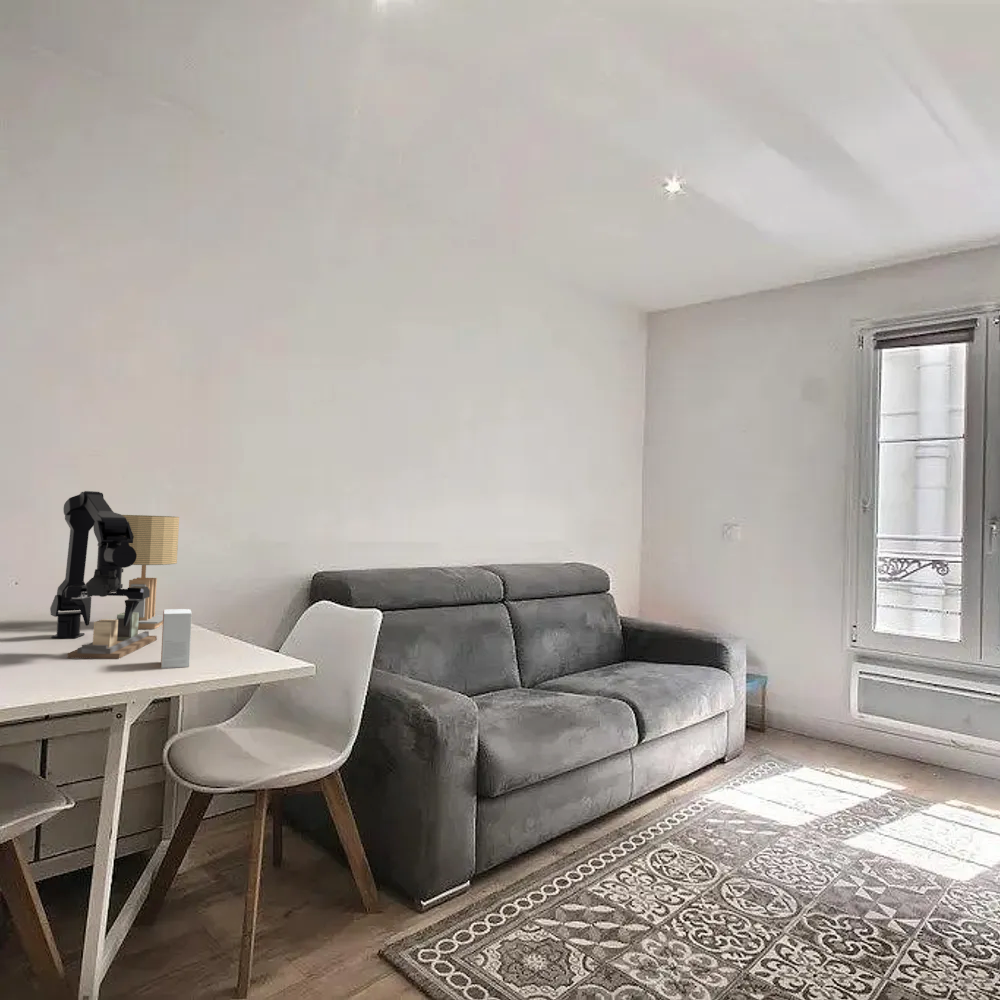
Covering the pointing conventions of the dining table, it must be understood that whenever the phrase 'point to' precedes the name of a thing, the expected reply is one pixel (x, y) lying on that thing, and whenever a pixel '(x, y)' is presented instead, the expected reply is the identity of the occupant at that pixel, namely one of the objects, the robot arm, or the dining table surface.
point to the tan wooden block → (105, 632)
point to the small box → (176, 638)
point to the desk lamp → (152, 558)
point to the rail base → (125, 642)
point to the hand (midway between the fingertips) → (106, 625)
